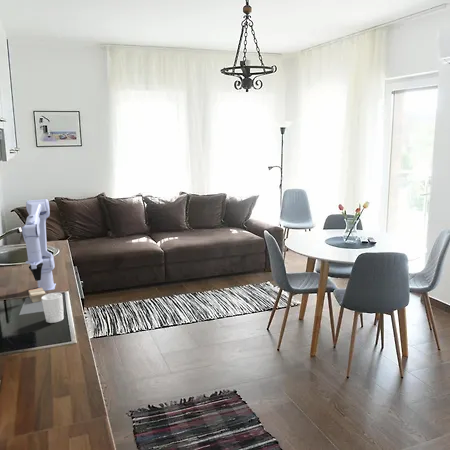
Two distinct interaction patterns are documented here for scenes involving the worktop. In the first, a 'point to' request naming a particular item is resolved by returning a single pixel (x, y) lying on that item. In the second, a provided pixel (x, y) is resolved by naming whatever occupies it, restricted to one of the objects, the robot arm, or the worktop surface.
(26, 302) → the rubber mat
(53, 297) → the white cup
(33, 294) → the birch slab
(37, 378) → the worktop surface
